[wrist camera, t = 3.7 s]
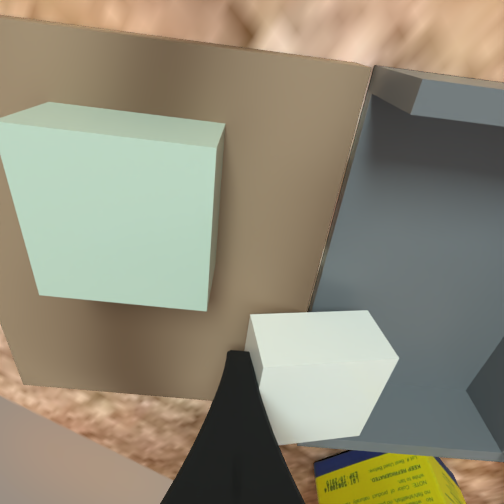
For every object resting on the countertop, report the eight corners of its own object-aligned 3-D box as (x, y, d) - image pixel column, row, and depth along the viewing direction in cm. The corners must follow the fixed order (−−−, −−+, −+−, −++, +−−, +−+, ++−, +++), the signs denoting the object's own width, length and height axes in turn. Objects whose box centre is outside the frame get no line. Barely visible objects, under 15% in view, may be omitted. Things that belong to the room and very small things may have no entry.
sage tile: (225, 123, 8) (216, 148, 6) (215, 264, 10) (206, 311, 8) (48, 101, 8) (-9, 120, 6) (76, 250, 10) (39, 295, 8)
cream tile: (367, 310, 12) (399, 358, 10) (337, 386, 14) (359, 435, 12) (250, 314, 11) (263, 367, 9) (237, 394, 13) (246, 449, 11)
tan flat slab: (354, 62, 9) (371, 67, 7) (279, 375, 15) (281, 406, 14) (-62, 6, 8) (-121, 2, 7) (44, 353, 15) (23, 384, 13)
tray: (674, 105, 9) (836, 134, 6) (468, 391, 15) (509, 462, 13) (374, 65, 9) (422, 78, 6) (290, 376, 15) (297, 445, 13)
